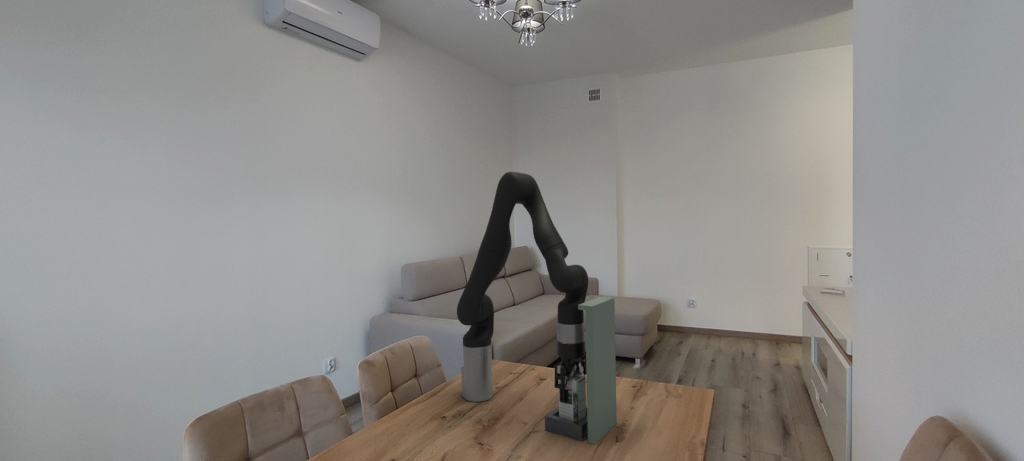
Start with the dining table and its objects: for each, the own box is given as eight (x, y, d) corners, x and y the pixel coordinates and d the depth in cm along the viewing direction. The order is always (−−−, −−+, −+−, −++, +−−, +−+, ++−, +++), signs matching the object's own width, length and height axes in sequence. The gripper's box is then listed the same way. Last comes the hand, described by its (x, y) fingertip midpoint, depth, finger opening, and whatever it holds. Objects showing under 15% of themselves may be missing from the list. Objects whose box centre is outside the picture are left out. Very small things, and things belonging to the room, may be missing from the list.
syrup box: (558, 428, 124) (557, 376, 123) (568, 420, 129) (567, 370, 128) (576, 434, 120) (575, 380, 120) (587, 425, 125) (586, 373, 125)
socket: (545, 430, 123) (544, 416, 123) (564, 415, 132) (564, 402, 132) (581, 441, 117) (581, 426, 117) (599, 424, 126) (599, 410, 125)
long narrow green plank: (580, 440, 117) (578, 304, 116) (603, 419, 129) (601, 296, 128) (595, 444, 115) (592, 306, 114) (616, 423, 126) (614, 297, 125)
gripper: (571, 331, 132) (571, 386, 132) (545, 342, 120) (546, 403, 120) (594, 334, 127) (595, 391, 128) (570, 346, 116) (571, 409, 116)
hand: (571, 397), depth 124 cm, fingers open, 8 cm apart
